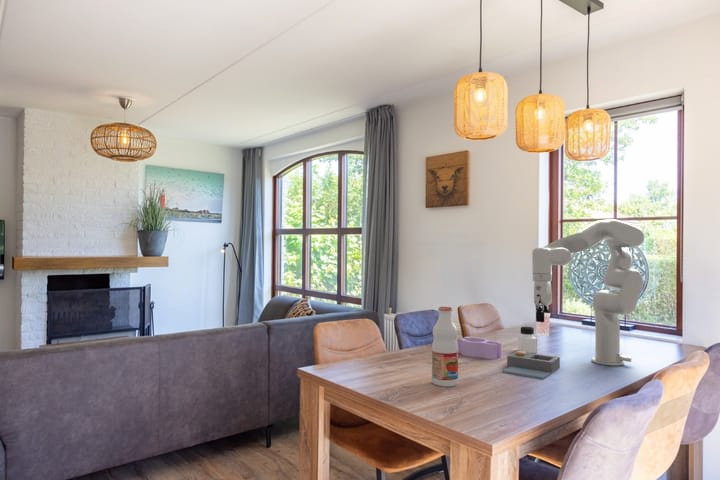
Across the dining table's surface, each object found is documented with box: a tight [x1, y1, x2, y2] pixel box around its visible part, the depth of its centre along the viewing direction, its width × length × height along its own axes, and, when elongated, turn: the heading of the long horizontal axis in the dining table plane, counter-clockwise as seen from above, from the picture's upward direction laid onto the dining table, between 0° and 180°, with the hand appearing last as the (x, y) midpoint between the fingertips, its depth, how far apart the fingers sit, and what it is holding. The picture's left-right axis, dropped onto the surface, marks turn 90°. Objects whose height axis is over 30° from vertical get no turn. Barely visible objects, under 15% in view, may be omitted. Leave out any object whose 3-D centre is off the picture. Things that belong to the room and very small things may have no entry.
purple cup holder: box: [456, 336, 502, 360], centre depth 220 cm, size 20×12×7 cm, turn 44°
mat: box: [502, 366, 552, 380], centre depth 187 cm, size 16×9×1 cm, turn 52°
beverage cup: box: [534, 312, 551, 337], centre depth 196 cm, size 6×6×14 cm
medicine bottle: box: [517, 325, 538, 354], centre depth 228 cm, size 7×7×12 cm
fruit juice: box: [431, 306, 459, 388], centre depth 173 cm, size 9×9×28 cm
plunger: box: [514, 350, 525, 355], centre depth 201 cm, size 4×4×5 cm
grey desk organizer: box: [506, 351, 561, 375], centre depth 197 cm, size 18×12×4 cm, turn 52°
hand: (542, 320), depth 196 cm, fingers closed on beverage cup, 6 cm apart
